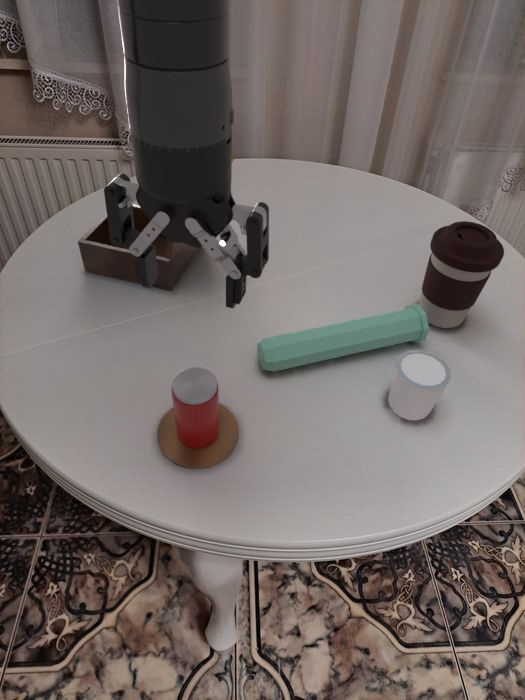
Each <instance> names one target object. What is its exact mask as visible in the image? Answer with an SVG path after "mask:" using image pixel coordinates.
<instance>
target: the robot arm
mask: <svg viewBox="0 0 525 700" xmlns="http://www.w3.org/2000/svg"><path fill="white" fill-rule="evenodd" d="M116 3H117V9H118V19H119V25H120V26H119V27H120V32H121V33H120V34H121V41H122V48H123V58H124V59H123V60H124V61H123V62H124V92H125V93H124V94H125V102H126V111H127V117H128V127H129V132H130V140H131V148H132V155H133V164H134V170H135V171H134V172H135V178H136V182H137V183H136V182H132V181H131V178H130V177H129V176H128V175H127V174H126V173H122V172H121V173H118V175H117V176H116V177H114V178H113V179H112V180H111V181H110V182H109V183H108V184H107V185H106V186H104V189H103V195H104V203H105V210H106V213H107V219H108V227H109V235H110V241H111V242H112V244H113V245H115V246H121V245H123V246H125V247H127V248H128V249H129V251H130V253H131V254H132V255H133V258H134V264H135V270H136V276H137V278H138V280H140V281H141V283H142V284H141V286H142V288H147V289H151V288H152V285H153V284H154V283H155V281H156V280H157V278H158V268H157V259H156V250H155V246H154V245H151V243H152V242H153V241H154V239H155V238H156V237H157V236H158V235H159V234H160V233H161V234H162V235H163V236H164V237H166V238H167V241H169V242H173V243H185V244H187V245H190V246H192V247H196V248H200V250H201V249H202V247H203V249H204V250H205V252H206V253H207V254H208V255H209V257H210V258H211V260H212V261H214V262H218V263H219V264H220V265H221V267H222V268H223V270H224V271H225V272H226V274H227V275H226V276H225V307H226V308H229V309H235V308H236V306H237V305H240V304H241V302H242V300H243V298H244V297H245V294H246V293H247V276H248V277H251V278H253V279H258V278H260V277H261V276H262V274H263V270H264V269H265V267H266V265H267V263H268V262H269V259H270V256H269V255H270V207H269V206H268V204H267V203H266V202H264V201H259V202H257V203H256V204H255V205H254V206H251V205H242V204H237V203H236V201H235V199H234V197H233V194H232V176H233V175H232V173H233V172H232V169H233V168H232V167H233V162H232V152H233V125H234V116H235V113H234V108H233V85H232V77H231V69H230V56H229V55H230V0H116ZM135 203H137V205H139V206H140V207H141V209H142V210H143V211H144V213H145V214H146V215H147V216H148V218H149V219H150V220H151V221H150V222H149V224H148V225H147V226H146V227H145V228H144V230H143V231H142V232H139V231H137V230H136V229H134V217H133V205H132V204H135ZM232 220H233V221H234V222H236V223H237V224H238V225H239V229H240V231H241V234H242V235H243V236H246V251H245V249H244V248H243V247H242V245H241V244H240V242H239V237H238V236H239V235H238V234H237V232H236V231H235V230H234V228H233V226H232V225H231V222H232ZM218 236H219V237H220V241H219V240H218V239H217V237H218Z"/></svg>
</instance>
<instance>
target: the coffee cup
mask: <svg viewBox="0 0 525 700" xmlns="http://www.w3.org/2000/svg"><path fill="white" fill-rule="evenodd" d="M429 247H430V251H431V253H430V255H429V257H428V262H427V266H426V269H425V273H424V277H423V281H422V284H421V294H420V298H419V302H418V304H419V305H420V307H421V308H422V309H423V310H424V312H425V313H426V314H427V320H428V324H430V325H432V326H434V327H437V328H441V329H453V328H455V327H459V326H460V325H461V324H462V323H463V322H464V321H465V319H466V317H467V315H468V313H469V312H470V309H472V307H473V306H474V305H475V303H476V302H477V300H478V299H479V296H480V295H481V293H482V292H483V290H484V288H485V286H486V284H487V282H488V281H489V279H490V277H491V274H492V271H493V270H495V269H496V268H498V267H499V265H500V264H501V262H502V260H503V258H504V255H505V249H504V246H503V244H502V243H501V241H500V240H499V239H498V237H497V236H496V234H495V232H494V231H493V230H491V229H490V228H489V227H487V226H485V225H483V224H482V223H481V224H480V223H478V222H473V221H466V220H464V221H455V222H452V223H450V224H448V225H445V226H442V227H440V228H438V229H436V230H435V231H434V232H433V234H432V237H431V239H430V244H429Z"/></svg>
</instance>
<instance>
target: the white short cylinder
mask: <svg viewBox="0 0 525 700" xmlns="http://www.w3.org/2000/svg"><path fill="white" fill-rule="evenodd" d="M451 378H452V372H451V368H450V367H449V365H448V364H447V363H446V362H445V360H444V359H442V358H441V357H440V356H438V355H436V354H435V353H432V352H430V351H427V350H423V349H411V350H406V351H404V352H403V353H401V354H400V355H399V356H397V359H396V361H395V364H394V369H393V373H392V379H391V384H390V388H389V392H388V393H389V394H388V398H387V400H388V401H387V402H388V406H389V407H390V409H391V410H392V412H393V413H394V414H395V415H397V416H398V417H399V418H402V419H404V420H407V421H416V422H417V421H420V420H425V418H426V417H428V415H430V413H431V411H432V410H433V409H434V407H435V406H436V404H437V402H438V401H439V400H440V398H441V396H442V394H443V393H444V392H445V390H446V388H447V387H448V385H449V384H450V381H451Z"/></svg>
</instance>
